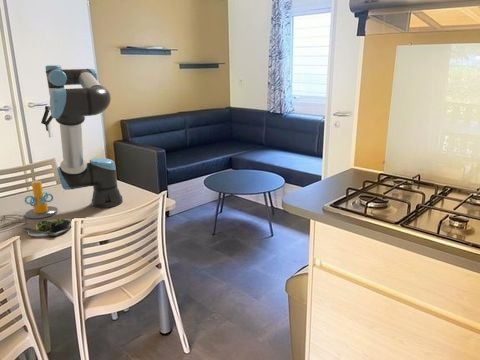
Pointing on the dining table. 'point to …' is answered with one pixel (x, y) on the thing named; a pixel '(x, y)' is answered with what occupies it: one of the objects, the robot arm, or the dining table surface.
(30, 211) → the base plate
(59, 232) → the salad plate
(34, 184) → the cylinder
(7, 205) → the dining table surface
